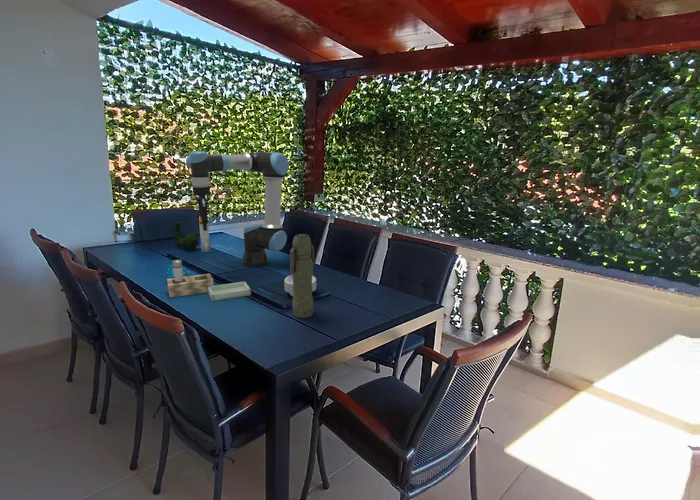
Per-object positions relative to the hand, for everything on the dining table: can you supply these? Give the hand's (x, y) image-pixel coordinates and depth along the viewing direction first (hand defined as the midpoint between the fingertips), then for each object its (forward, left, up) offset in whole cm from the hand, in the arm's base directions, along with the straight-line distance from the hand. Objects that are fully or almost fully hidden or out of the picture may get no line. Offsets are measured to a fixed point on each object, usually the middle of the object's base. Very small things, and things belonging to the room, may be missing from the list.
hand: (204, 235), depth 198 cm
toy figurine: (+1, -83, -28) cm, 88 cm away
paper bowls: (-39, +23, -28) cm, 53 cm away
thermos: (-32, +45, -28) cm, 62 cm away
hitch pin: (0, 0, -7) cm, 7 cm away
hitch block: (+8, -3, -28) cm, 29 cm away
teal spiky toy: (+12, -23, -28) cm, 38 cm away
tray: (-8, +8, -28) cm, 30 cm away
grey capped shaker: (+13, -3, -28) cm, 31 cm away
